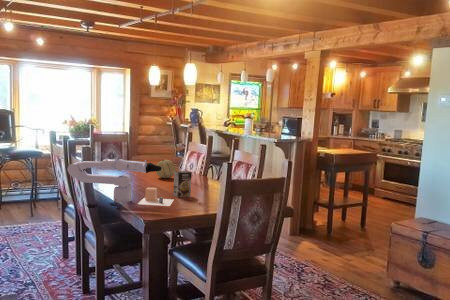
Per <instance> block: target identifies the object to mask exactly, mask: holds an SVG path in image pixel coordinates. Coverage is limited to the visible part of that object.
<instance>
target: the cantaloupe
mask: <svg viewBox="0 0 450 300" xmlns="http://www.w3.org/2000/svg"><path fill="white" fill-rule="evenodd" d="M156 165H157V166H160V167H162V168H161V171H155V173H156V175H157V176H158V177H159V178H161V179H170V178H172V177H174V172H175V171H176V165H175V164H174V162H172V160H170V159H162V160H160V161H158V162H157V164H156Z"/></svg>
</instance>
